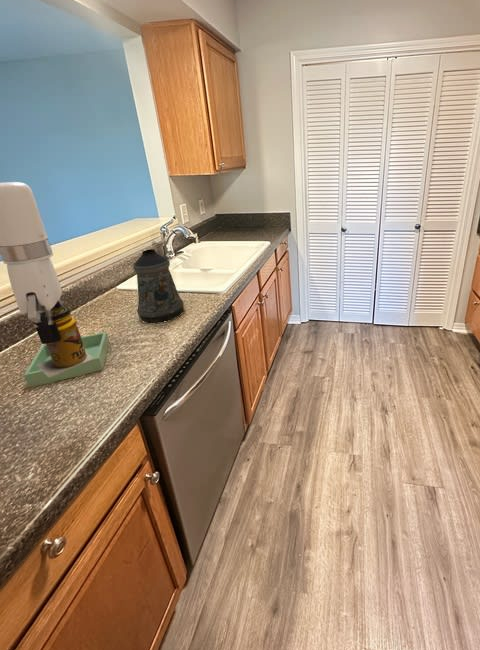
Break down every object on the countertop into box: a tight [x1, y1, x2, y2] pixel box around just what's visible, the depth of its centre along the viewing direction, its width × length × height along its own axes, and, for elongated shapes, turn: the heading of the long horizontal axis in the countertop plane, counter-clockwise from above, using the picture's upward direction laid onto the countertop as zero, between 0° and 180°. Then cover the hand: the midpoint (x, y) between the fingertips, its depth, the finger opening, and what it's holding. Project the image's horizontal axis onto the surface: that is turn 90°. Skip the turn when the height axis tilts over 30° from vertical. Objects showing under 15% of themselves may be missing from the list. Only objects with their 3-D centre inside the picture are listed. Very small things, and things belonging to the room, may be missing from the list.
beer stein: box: [132, 248, 185, 324], centre depth 121 cm, size 16×19×25 cm
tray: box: [23, 331, 110, 388], centre depth 96 cm, size 18×17×4 cm
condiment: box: [37, 306, 94, 378], centre depth 68 cm, size 7×8×12 cm
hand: (56, 333), depth 68 cm, fingers closed on condiment, 6 cm apart
